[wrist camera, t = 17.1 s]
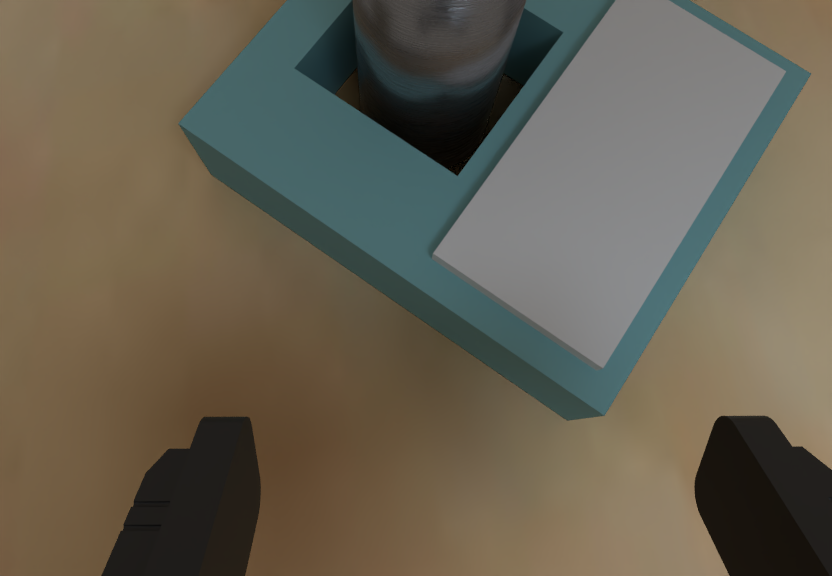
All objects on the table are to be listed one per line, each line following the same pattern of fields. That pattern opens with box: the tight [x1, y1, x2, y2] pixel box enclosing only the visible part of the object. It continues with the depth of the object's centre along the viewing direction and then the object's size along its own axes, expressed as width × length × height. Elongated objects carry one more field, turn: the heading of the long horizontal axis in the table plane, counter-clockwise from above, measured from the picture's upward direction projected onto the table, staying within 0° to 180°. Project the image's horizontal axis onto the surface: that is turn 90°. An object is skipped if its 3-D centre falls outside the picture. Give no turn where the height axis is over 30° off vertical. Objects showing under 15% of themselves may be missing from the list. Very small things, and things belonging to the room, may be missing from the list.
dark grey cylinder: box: [352, 0, 526, 168], centre depth 21 cm, size 5×5×10 cm
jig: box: [178, 0, 811, 420], centre depth 23 cm, size 16×14×5 cm
